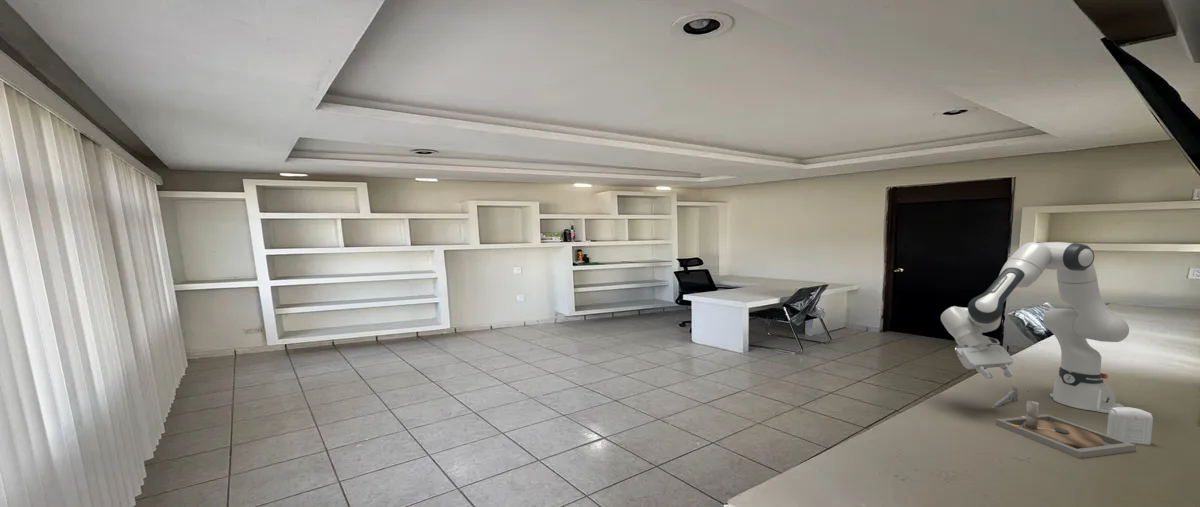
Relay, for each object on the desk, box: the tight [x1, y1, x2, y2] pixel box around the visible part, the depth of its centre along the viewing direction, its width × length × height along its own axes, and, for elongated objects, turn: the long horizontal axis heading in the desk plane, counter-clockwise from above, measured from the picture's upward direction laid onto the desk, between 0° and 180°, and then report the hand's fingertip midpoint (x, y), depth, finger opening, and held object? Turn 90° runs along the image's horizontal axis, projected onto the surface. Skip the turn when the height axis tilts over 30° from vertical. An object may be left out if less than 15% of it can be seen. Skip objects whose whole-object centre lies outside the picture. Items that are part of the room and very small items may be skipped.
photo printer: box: [1106, 406, 1154, 446], centre depth 149 cm, size 10×4×12 cm, turn 72°
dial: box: [1023, 400, 1104, 449], centre depth 151 cm, size 19×19×11 cm
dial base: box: [995, 413, 1137, 459], centre depth 151 cm, size 24×24×3 cm
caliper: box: [991, 386, 1019, 409], centre depth 182 cm, size 20×1×6 cm, turn 118°
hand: (999, 377), depth 163 cm, fingers open, 8 cm apart
